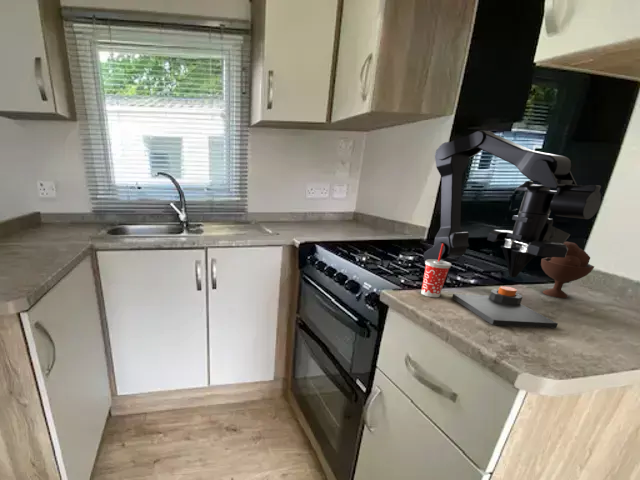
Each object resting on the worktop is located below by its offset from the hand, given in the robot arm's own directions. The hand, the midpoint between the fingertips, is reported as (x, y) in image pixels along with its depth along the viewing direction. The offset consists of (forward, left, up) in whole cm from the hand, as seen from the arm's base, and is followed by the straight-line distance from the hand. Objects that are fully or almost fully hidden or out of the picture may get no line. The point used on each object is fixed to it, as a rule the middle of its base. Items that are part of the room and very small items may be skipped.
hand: (512, 276), depth 88 cm
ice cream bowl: (-11, +21, -8) cm, 25 cm away
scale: (+5, -5, -8) cm, 10 cm away
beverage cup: (-5, -16, -8) cm, 19 cm away
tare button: (0, 0, -5) cm, 5 cm away
